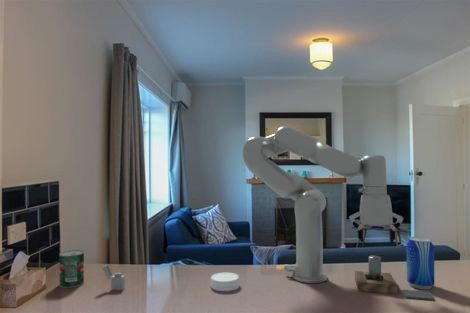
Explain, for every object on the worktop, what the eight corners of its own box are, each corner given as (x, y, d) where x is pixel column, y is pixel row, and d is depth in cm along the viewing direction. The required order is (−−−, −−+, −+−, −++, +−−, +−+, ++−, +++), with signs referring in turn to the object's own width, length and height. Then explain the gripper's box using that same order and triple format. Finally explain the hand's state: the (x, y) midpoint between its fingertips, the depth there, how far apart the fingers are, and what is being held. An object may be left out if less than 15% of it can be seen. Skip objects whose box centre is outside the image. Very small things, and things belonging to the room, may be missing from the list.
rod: (369, 287, 121) (369, 258, 121) (367, 283, 125) (367, 255, 125) (382, 288, 120) (381, 258, 120) (380, 284, 124) (380, 255, 124)
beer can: (438, 291, 118) (437, 242, 118) (410, 289, 120) (410, 241, 120) (429, 282, 126) (429, 236, 126) (404, 280, 128) (403, 235, 128)
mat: (406, 298, 112) (406, 296, 112) (402, 291, 118) (402, 289, 118) (434, 300, 110) (434, 298, 110) (428, 293, 116) (428, 291, 116)
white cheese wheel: (245, 288, 122) (245, 278, 122) (219, 294, 116) (219, 283, 116) (230, 280, 130) (230, 270, 130) (205, 285, 125) (205, 275, 125)
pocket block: (358, 291, 118) (358, 282, 118) (354, 279, 130) (354, 270, 130) (397, 294, 115) (397, 284, 115) (390, 281, 127) (390, 273, 127)
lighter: (124, 288, 122) (124, 264, 122) (123, 290, 120) (123, 266, 120) (104, 288, 122) (104, 264, 122) (102, 289, 120) (102, 265, 120)
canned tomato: (55, 284, 126) (55, 253, 126) (78, 278, 131) (78, 248, 132) (65, 290, 120) (65, 257, 120) (88, 283, 126) (88, 252, 126)
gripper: (349, 192, 121) (350, 243, 121) (404, 192, 117) (406, 244, 117) (347, 190, 128) (349, 238, 128) (399, 190, 124) (401, 239, 124)
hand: (376, 241), depth 122 cm, fingers open, 9 cm apart
